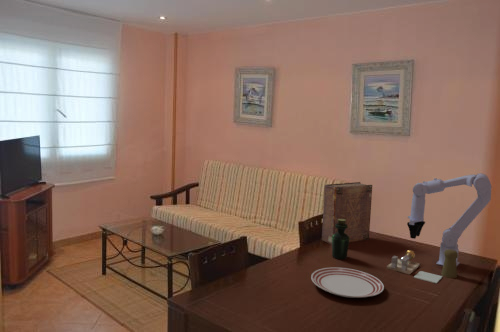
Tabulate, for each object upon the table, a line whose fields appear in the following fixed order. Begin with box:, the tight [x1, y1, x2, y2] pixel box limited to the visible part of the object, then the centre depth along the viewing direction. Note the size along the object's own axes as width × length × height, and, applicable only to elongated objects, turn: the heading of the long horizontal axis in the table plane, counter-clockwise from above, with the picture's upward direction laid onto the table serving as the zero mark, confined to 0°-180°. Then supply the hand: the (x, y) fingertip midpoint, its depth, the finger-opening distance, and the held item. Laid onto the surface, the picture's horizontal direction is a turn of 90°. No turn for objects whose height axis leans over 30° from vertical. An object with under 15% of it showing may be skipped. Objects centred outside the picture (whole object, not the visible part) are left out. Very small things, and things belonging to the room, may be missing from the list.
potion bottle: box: [331, 219, 350, 260], centre depth 197 cm, size 8×8×18 cm
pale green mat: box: [413, 270, 444, 284], centre depth 176 cm, size 9×9×1 cm
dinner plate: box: [310, 267, 385, 299], centre depth 163 cm, size 28×27×3 cm
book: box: [321, 181, 373, 245], centre depth 224 cm, size 25×9×30 cm, turn 120°
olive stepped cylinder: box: [440, 249, 459, 279], centre depth 179 cm, size 6×6×11 cm
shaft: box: [399, 249, 416, 263], centre depth 190 cm, size 11×4×4 cm, turn 141°
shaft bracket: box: [386, 255, 421, 275], centre depth 187 cm, size 14×10×6 cm
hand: (414, 237), depth 198 cm, fingers open, 5 cm apart
